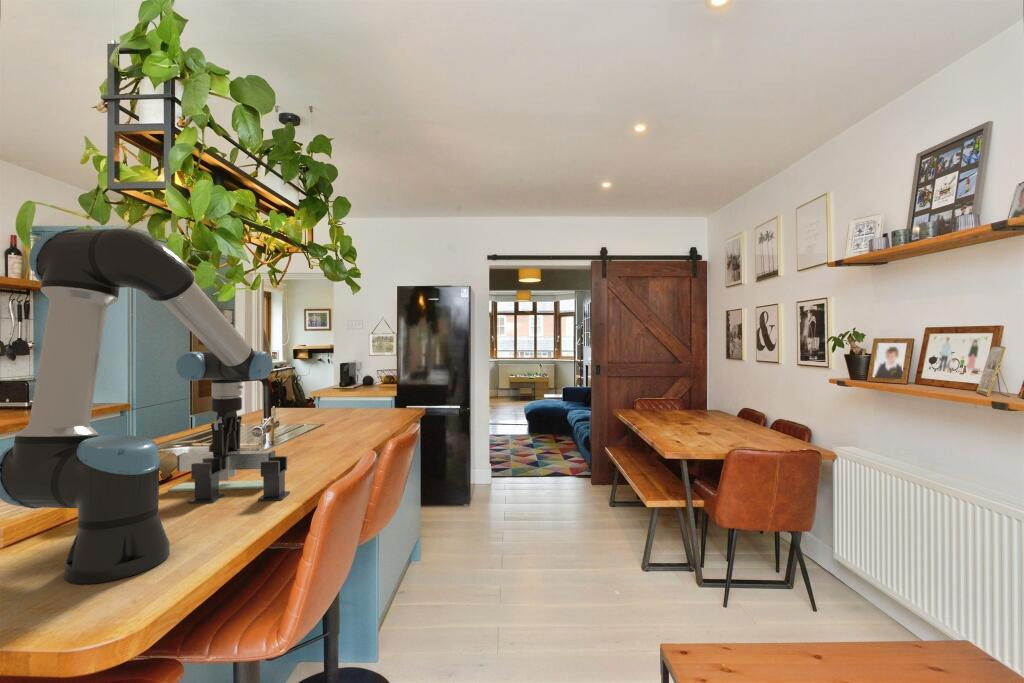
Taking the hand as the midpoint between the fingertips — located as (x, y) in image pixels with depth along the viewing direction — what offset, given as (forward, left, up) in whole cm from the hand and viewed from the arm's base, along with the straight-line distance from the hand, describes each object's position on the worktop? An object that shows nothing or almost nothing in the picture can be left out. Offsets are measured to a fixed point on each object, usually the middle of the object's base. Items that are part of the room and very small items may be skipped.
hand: (227, 477), depth 139 cm
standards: (-12, -9, -2) cm, 15 cm away
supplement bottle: (+18, +10, -3) cm, 21 cm away
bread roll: (+10, +24, -3) cm, 26 cm away
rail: (0, 0, +3) cm, 3 cm away
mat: (0, 0, -2) cm, 2 cm away
